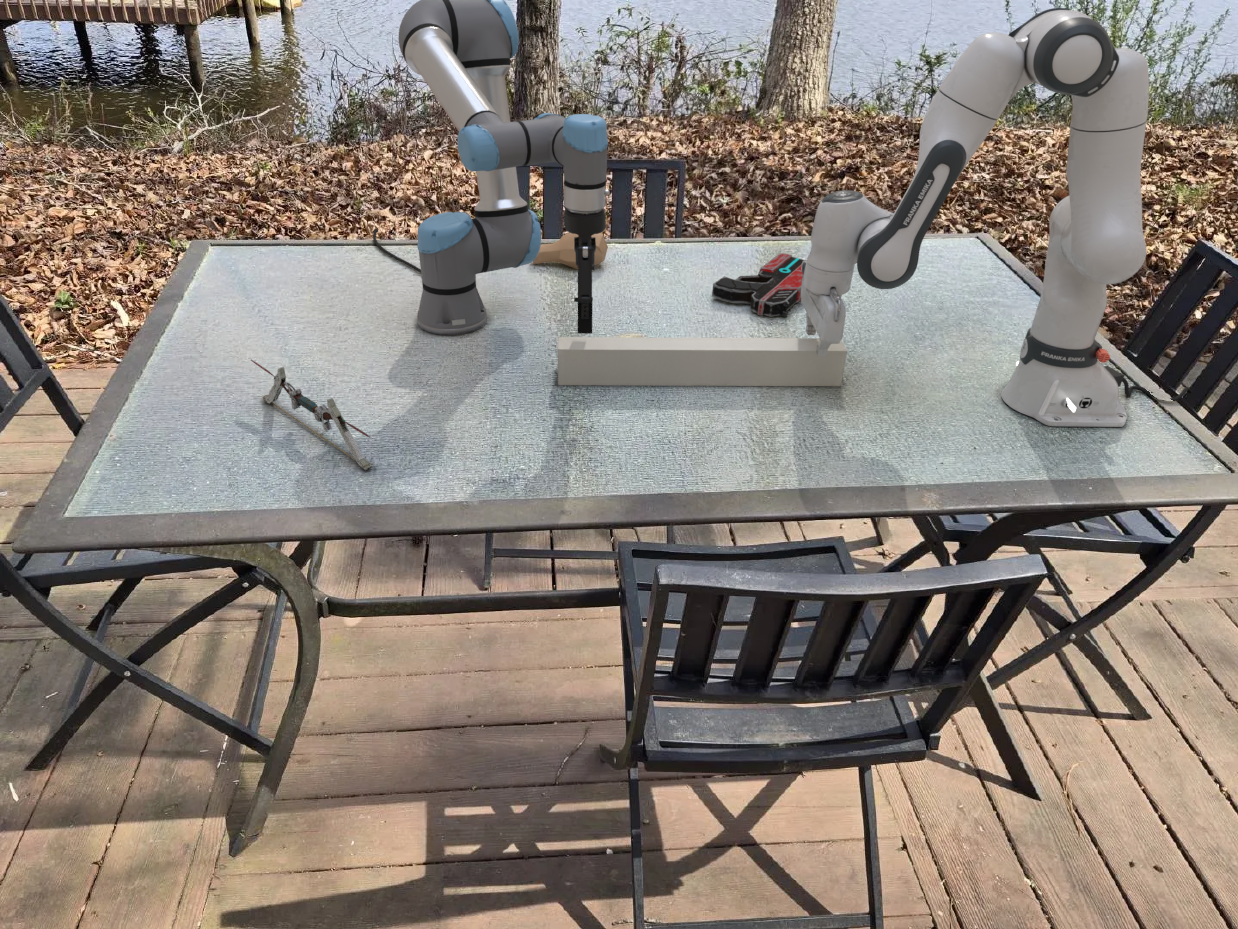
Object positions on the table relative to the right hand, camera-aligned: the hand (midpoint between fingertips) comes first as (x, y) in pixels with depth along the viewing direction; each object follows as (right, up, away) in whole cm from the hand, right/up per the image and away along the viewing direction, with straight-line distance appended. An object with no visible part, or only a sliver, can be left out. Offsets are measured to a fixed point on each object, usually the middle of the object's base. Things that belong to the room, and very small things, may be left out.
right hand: (815, 344), depth 174 cm
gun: (-2, +19, +42) cm, 46 cm away
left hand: (-46, +4, -5) cm, 46 cm away
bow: (-93, -18, -17) cm, 97 cm away
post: (-23, -7, +3) cm, 24 cm away
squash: (-52, +28, +54) cm, 80 cm away
